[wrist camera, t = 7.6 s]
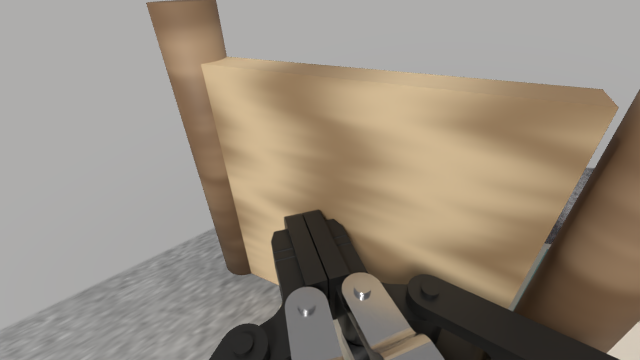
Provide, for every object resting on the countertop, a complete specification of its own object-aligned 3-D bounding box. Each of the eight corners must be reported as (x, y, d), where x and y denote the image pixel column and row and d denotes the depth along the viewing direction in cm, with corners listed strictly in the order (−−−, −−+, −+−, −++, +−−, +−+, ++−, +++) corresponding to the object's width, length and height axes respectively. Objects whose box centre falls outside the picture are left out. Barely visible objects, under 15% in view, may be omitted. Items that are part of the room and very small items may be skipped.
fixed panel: (546, 429, 11) (1145, -120, 3) (476, 375, 13) (737, -79, 5) (604, 257, 18) (836, -57, 10) (554, 236, 20) (716, -50, 11)
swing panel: (476, 333, 14) (641, -7, 7) (472, 383, 13) (692, -1, 5) (243, 240, 20) (184, -1, 12) (218, 266, 18) (131, 3, 10)
